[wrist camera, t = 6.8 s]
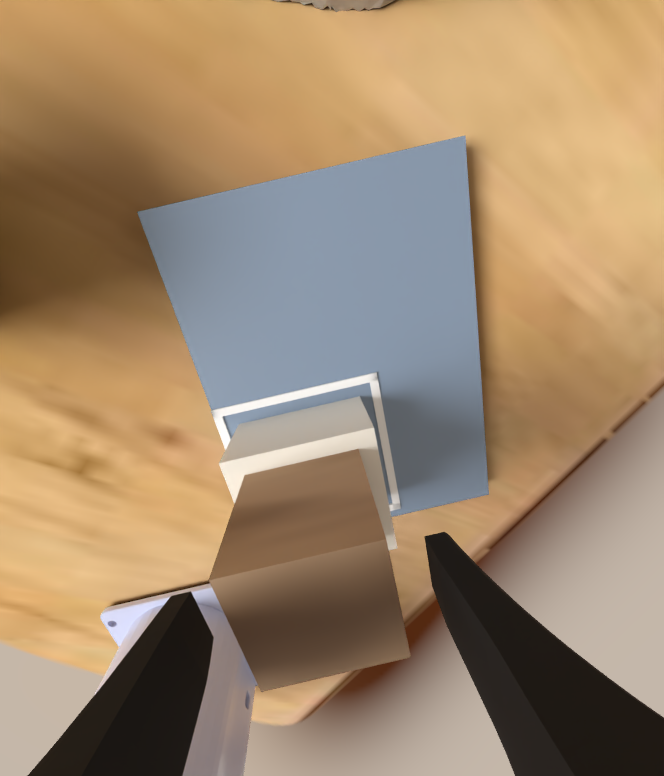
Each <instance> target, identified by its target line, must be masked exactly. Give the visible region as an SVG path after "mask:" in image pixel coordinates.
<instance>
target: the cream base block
mask: <svg viewBox="0 0 664 776" xmlns="http://www.w3.org/2000/svg"><path fill="white" fill-rule="evenodd" d="M355 449H359V452H360V455H361V458H362V462H363V465H364V468H365V471H366V475H367V478H368V481H369V484H370V488H371V491H372V494H373V497H374V501H375V504H376V507H377V510H378V514H379V517H380V520H381V524H382V527H383V530H384V533H385V537H386V540H387V545H388V550H392V549H397V544H396V538H395V533H394V528H393V523H392V518H391V513H390V507H389V502H388V497H387V492H386V487H385V482H384V477H383V471H382V466H381V461H380V456H379V451H378V446H377V440H376V435H375V430H374V426H373V424H372V422H371V420H370V418H369V416H368V413H367V411H366V409H365V407H364V405H363V403H362V400H361V398H360V396H358V397H354V398H350V399H346V400H341V401H337V402H333V403H328V404H324V405H320V406H315V407H311V408H307V409H302V410H298V411H294V412H289V413H285V414H281V415H276V416H272V417H268V418H264V419H259V420H255V421H251V422H246V423H242V424H239V425H238V427H237V429H236V431H235V433H234V434H233V436H232V438H231V440H230V442H229V444H228V446H227V448H226V450H225V452H224V454H223V456H222V458H221V460H220V462H219V465H220V468H221V470H222V473H223V475H224V478H225V481H226V483H227V486H228V488H229V491H230V493H231V496H232V498H233V501H234V504H235V502H236V499H237V496H238V493H239V490H240V487H241V484H242V481H243V478H244V475H248V474H252V473H256V472H260V471H265V470H269V469H273V468H278V467H282V466H286V465H291V464H295V463H299V462H304V461H308V460H312V459H316V458H321V457H325V456H329V455H334V454H338V453H342V452H347V451H351V450H355Z"/></svg>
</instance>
